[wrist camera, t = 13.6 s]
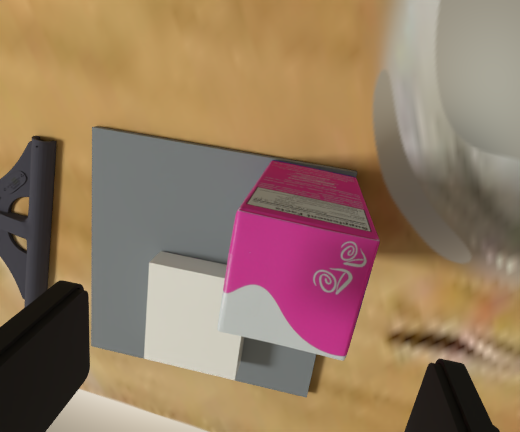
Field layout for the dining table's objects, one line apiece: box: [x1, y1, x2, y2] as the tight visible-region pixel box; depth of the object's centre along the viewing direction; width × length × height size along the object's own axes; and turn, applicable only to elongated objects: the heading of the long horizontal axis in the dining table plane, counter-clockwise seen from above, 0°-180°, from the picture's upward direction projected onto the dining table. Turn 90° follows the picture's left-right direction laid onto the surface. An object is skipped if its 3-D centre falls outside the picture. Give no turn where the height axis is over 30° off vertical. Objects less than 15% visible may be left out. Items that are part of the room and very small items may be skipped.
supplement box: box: [217, 160, 380, 360], centre depth 21 cm, size 6×6×12 cm
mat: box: [91, 126, 357, 397], centre depth 30 cm, size 18×18×1 cm
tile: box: [144, 251, 244, 380], centre depth 30 cm, size 2×7×8 cm
